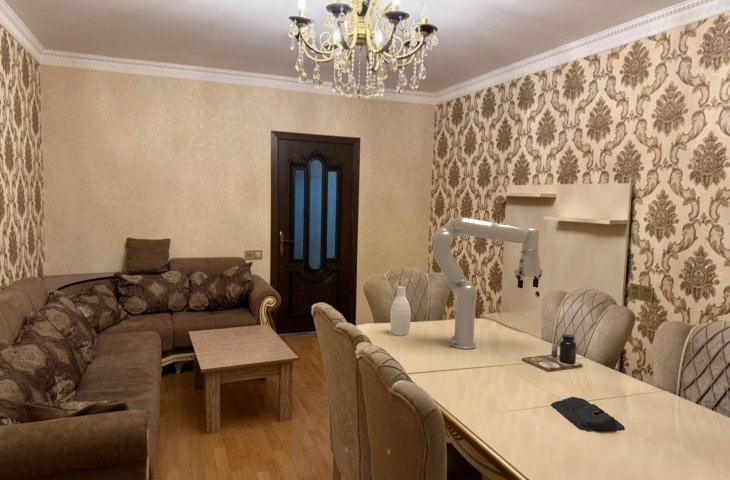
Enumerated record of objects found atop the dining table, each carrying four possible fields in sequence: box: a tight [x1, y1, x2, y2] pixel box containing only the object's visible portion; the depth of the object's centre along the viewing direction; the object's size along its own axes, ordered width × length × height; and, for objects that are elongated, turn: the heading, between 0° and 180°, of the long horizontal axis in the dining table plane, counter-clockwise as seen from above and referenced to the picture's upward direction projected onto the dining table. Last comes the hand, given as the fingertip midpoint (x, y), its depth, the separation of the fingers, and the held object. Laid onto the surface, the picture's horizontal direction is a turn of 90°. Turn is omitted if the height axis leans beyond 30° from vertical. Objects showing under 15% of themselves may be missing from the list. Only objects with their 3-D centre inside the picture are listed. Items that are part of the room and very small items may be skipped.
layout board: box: [521, 343, 583, 372], centre depth 215 cm, size 20×16×7 cm
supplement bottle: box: [558, 333, 577, 364], centre depth 214 cm, size 7×7×12 cm
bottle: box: [389, 285, 412, 337], centre depth 258 cm, size 11×11×25 cm
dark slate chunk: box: [550, 396, 625, 433], centre depth 160 cm, size 15×22×5 cm
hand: (527, 287), depth 238 cm, fingers open, 9 cm apart
